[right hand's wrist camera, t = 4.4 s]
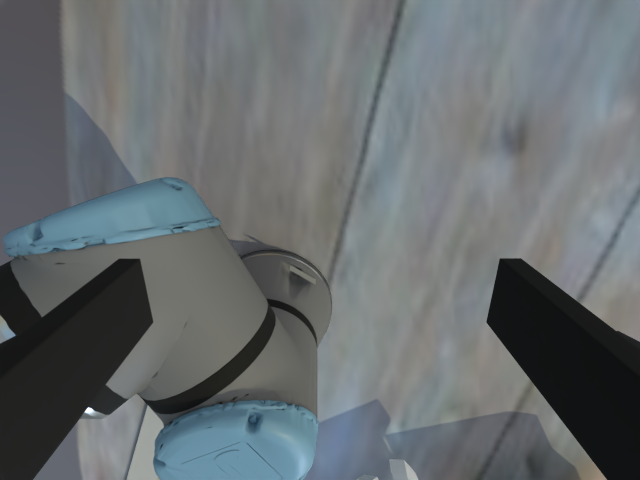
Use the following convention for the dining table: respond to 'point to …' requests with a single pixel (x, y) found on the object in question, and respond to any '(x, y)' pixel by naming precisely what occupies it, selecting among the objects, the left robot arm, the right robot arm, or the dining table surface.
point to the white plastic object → (396, 471)
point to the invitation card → (145, 448)
